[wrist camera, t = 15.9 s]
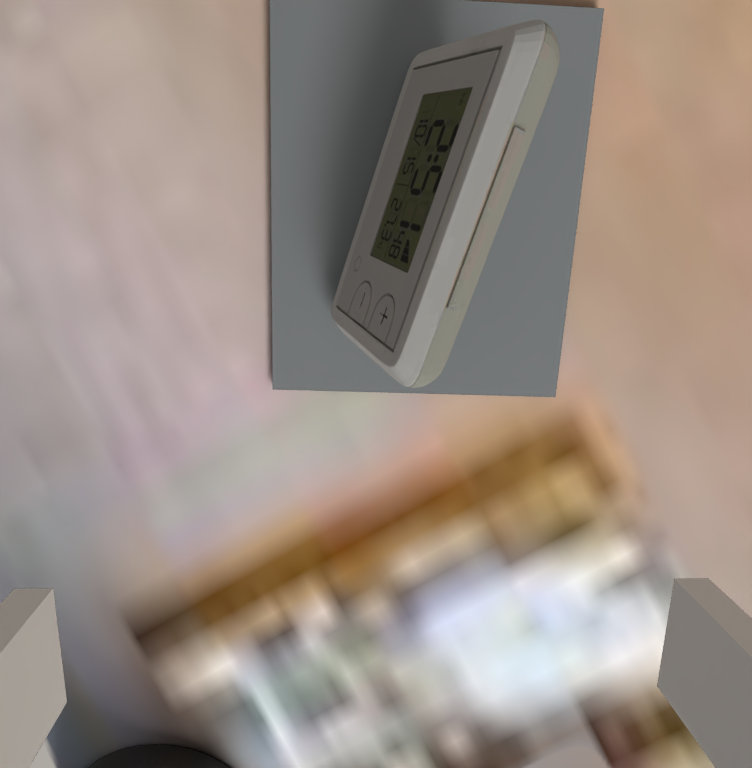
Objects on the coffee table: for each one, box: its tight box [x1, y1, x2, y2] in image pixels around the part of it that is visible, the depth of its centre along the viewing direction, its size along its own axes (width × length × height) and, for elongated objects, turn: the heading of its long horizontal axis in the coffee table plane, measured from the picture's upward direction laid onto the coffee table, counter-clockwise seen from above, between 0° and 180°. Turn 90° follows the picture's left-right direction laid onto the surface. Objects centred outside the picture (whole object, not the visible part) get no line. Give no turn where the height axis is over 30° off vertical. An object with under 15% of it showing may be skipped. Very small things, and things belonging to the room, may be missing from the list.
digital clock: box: [331, 20, 560, 388], centre depth 29 cm, size 16×9×11 cm, turn 149°
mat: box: [270, 0, 604, 397], centre depth 35 cm, size 22×18×1 cm
